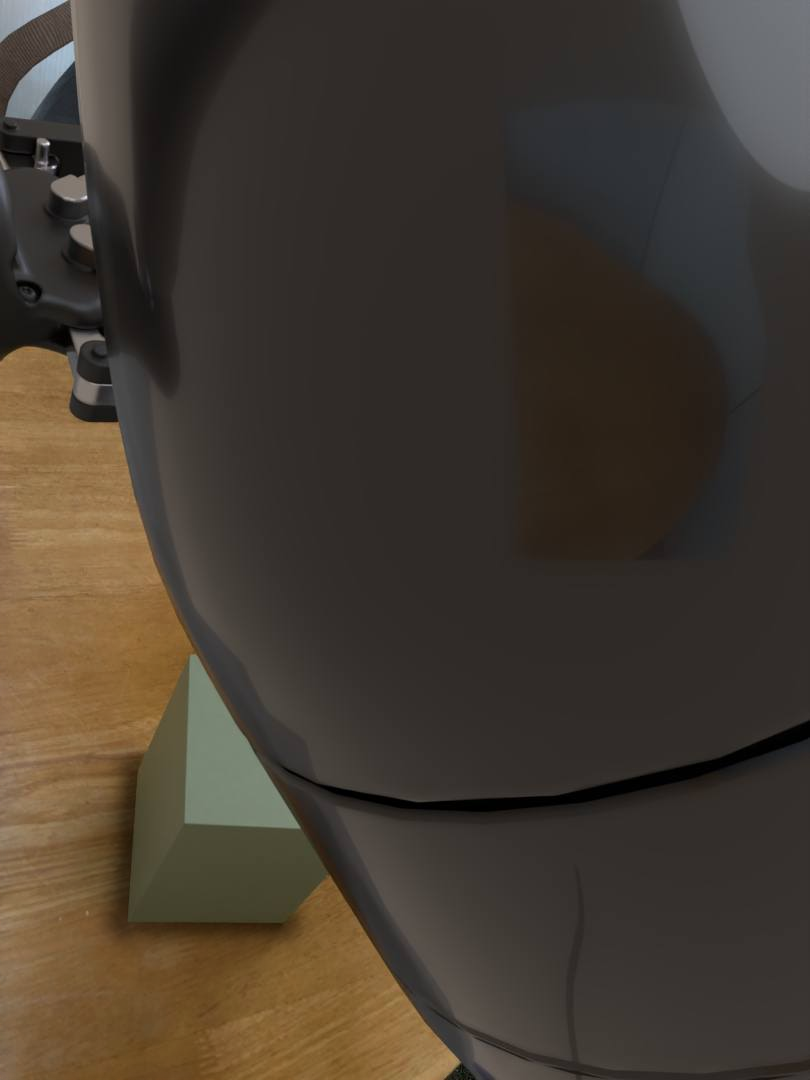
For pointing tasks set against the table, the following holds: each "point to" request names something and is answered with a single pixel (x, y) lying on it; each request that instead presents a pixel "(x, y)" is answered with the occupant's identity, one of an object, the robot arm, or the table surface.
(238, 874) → the base block
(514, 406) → the robot arm
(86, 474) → the table surface
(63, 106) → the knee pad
